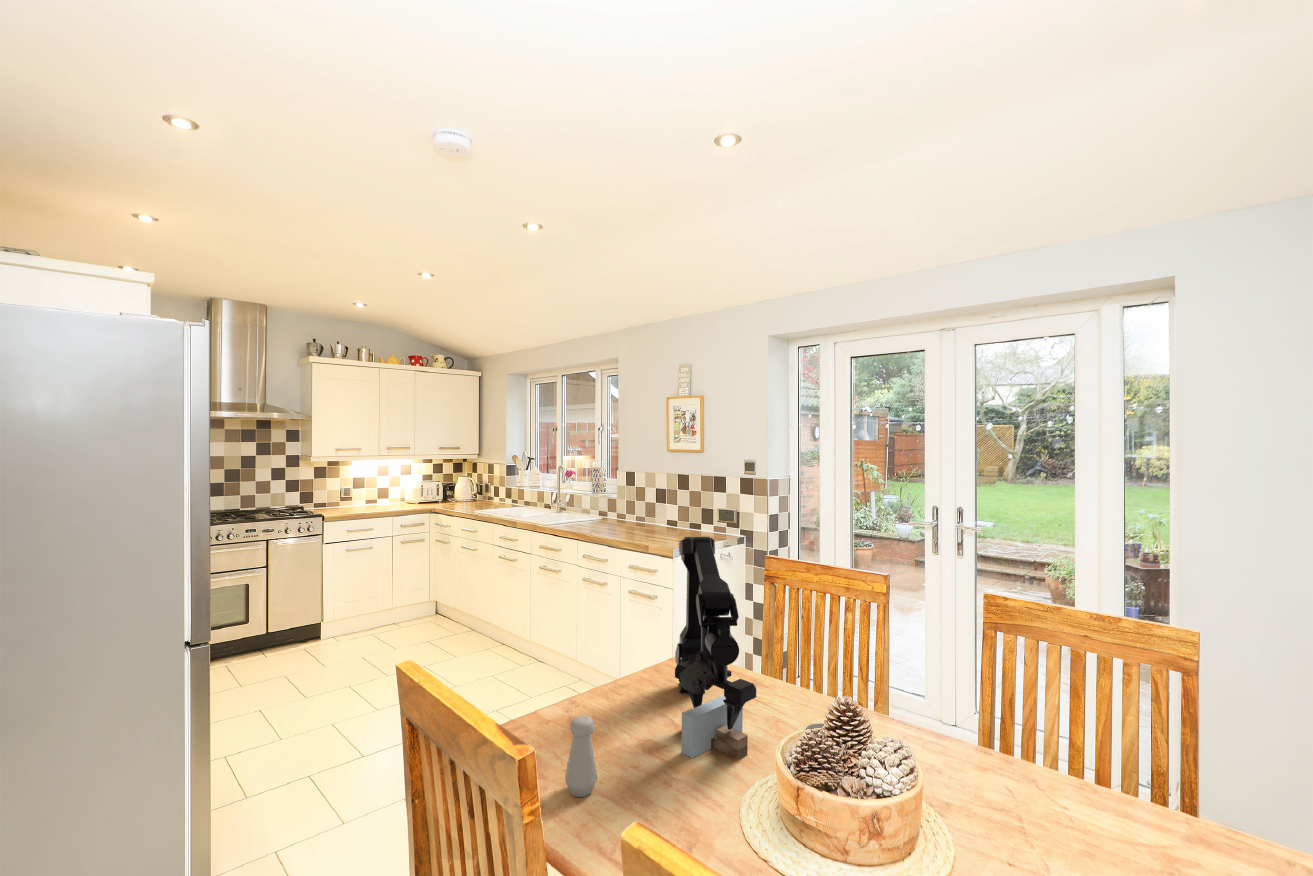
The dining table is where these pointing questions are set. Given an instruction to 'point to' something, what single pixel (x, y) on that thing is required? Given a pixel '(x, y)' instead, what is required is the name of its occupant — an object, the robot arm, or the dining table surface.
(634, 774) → the dining table surface
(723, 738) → the walnut rail
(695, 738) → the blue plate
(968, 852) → the dining table surface
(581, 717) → the salt shaker
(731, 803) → the dining table surface
